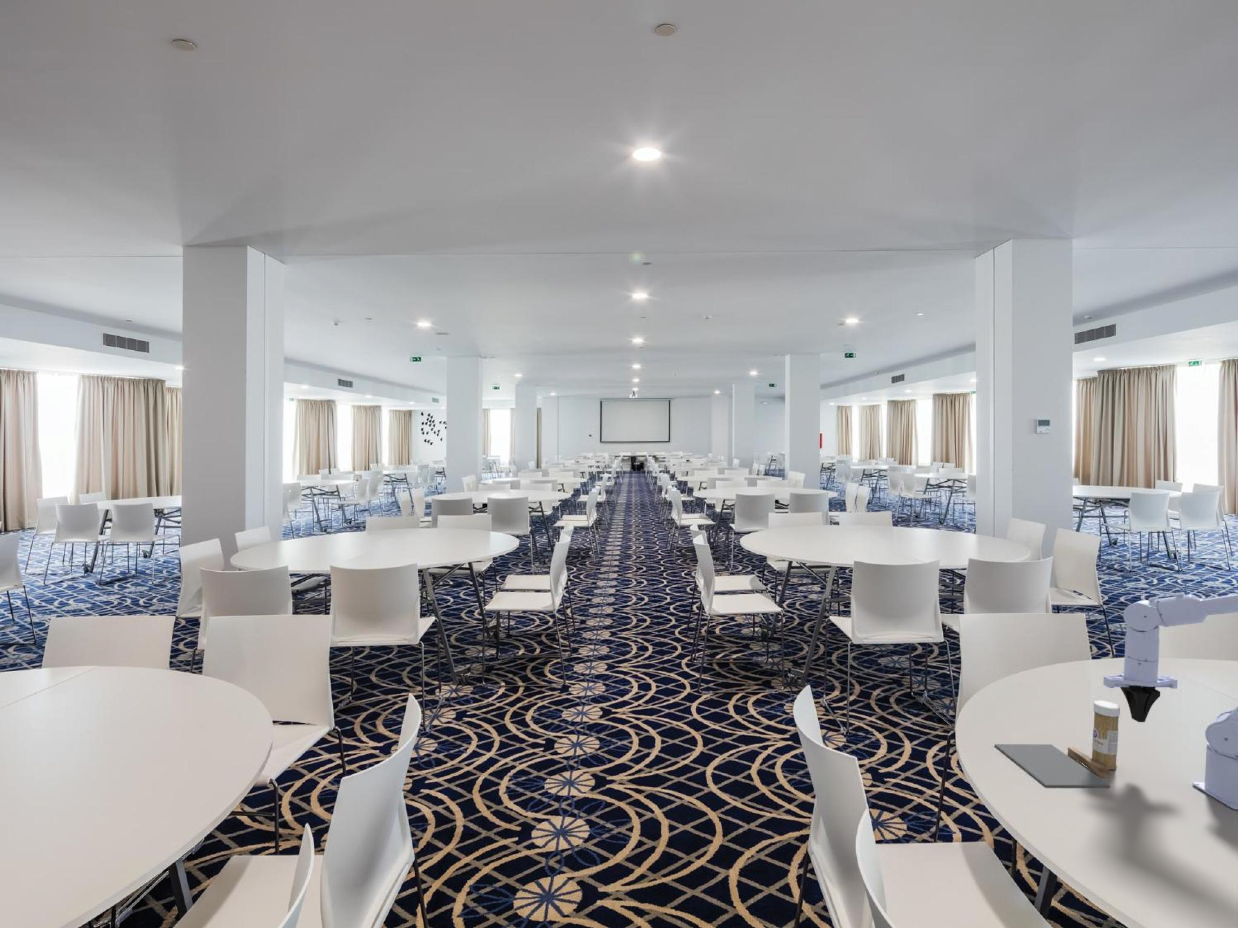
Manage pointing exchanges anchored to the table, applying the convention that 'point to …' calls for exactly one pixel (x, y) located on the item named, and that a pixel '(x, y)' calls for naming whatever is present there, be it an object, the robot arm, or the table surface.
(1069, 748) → the walnut rail
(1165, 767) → the table surface
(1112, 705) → the sprinkles bottle
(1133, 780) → the table surface
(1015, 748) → the rubber mat
